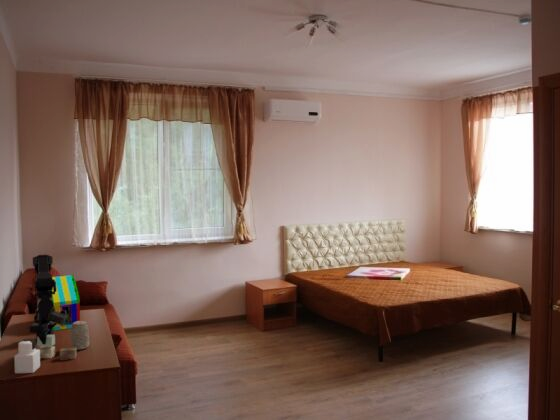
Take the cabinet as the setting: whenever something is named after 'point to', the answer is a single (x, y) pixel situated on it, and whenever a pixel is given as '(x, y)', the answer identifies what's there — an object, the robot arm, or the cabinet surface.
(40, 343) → the sage brick
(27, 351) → the medicine bottle
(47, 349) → the birch brick
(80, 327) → the carving
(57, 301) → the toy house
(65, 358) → the walnut brick
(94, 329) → the cabinet surface
